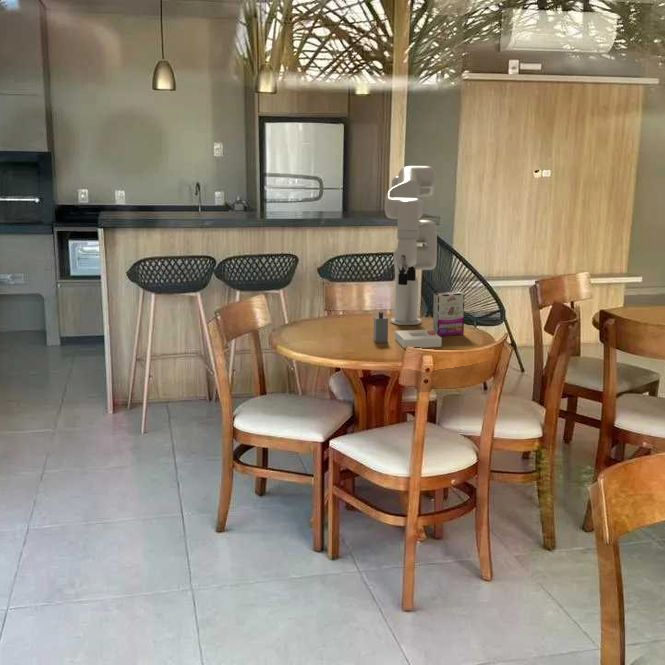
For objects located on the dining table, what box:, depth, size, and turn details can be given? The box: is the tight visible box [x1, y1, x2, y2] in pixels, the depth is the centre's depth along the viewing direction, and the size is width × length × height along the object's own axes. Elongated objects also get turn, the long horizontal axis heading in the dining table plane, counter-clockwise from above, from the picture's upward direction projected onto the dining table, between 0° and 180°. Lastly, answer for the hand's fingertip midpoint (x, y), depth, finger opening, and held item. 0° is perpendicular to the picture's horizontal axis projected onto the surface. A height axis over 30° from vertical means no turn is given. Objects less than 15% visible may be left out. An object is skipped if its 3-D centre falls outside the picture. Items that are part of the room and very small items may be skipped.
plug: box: [373, 311, 389, 343], centre depth 286 cm, size 4×4×11 cm
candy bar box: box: [432, 291, 465, 337], centre depth 295 cm, size 11×5×16 cm, turn 106°
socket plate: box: [394, 328, 443, 349], centre depth 284 cm, size 14×14×4 cm
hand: (407, 282), depth 276 cm, fingers open, 9 cm apart
